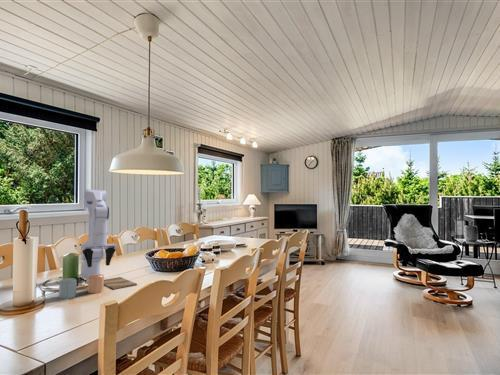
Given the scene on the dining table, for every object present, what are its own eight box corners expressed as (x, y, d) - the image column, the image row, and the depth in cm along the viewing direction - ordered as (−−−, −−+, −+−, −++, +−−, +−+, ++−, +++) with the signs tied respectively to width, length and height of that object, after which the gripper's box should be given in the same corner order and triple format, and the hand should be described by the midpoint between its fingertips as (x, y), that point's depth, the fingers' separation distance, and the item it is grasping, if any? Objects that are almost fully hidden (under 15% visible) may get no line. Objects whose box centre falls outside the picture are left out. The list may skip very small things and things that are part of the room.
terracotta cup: (86, 290, 134) (86, 275, 134) (99, 288, 138) (100, 273, 138) (91, 294, 130) (92, 277, 130) (105, 291, 134) (106, 275, 134)
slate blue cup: (57, 296, 125) (58, 279, 126) (72, 293, 130) (73, 277, 130) (62, 299, 122) (63, 282, 122) (77, 296, 126) (78, 280, 126)
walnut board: (97, 282, 147) (97, 280, 147) (120, 278, 156) (120, 276, 156) (113, 289, 137) (113, 288, 137) (137, 285, 145) (137, 283, 145)
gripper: (86, 234, 129) (85, 268, 127) (120, 233, 140) (119, 264, 138) (79, 234, 133) (77, 267, 131) (112, 234, 144) (111, 264, 142)
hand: (98, 266), depth 135 cm, fingers open, 7 cm apart
